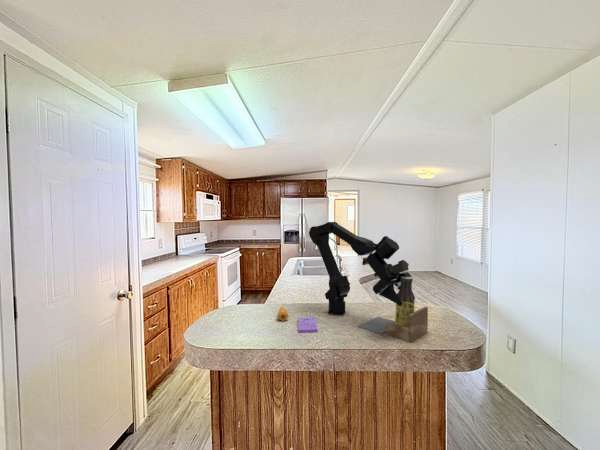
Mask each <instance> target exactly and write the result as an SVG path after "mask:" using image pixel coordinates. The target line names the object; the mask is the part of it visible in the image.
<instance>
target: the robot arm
mask: <svg viewBox="0 0 600 450" xmlns="http://www.w3.org/2000/svg"><path fill="white" fill-rule="evenodd" d="M330 234H332V235H334V236H336V237H338V238H339V239H340V240H342V241H343V242H345V243H347V244H348V245H349V246H350V247H351V250H353V252H354V253H355V254H356V255H358V256H359V257H360V256H366V257H362V262H361V265H362V266H365V265H366V266H367V265H368V266H369V267H370V269H372V271H373V272H374V274H373V276H374V277H375V278H376V277H378V278H379V280H378V281H377V282H376V283H375V284H373V286H372V291H373V293H374V294H375V295H378V296H381V297H383V298H385V299H387V300H389V301H391V302H393V303H395V305H396V304H398V305H400V306H401V305H403V303H402V301H401V300H400V298H399V297H398V295H397V294H398V293H397V292H396V290H395V287H396V288H397V290H398V291H399V290H400V287H401V281H400V277H402V276H407V277H411V278H413V277H412V275H411V273H410V272H407V271H409V270H410V269H409V266H410V264H409V262H407V261H406V260H405V259H402V260H398V262H397V263H396V264H392V263H388V262H387V261H386V260H389V259H390V258H392V256H393V255H395V254H396V253H397V251H398V250H399V249H400V246H399V244H398V243H397V241H395V240H394V239H392V238H390V237H389V236H388V235H385V236H383V237H382V238H381V240H380V241H379V242H378V243H375V242H374V241H373V240H372V239H368V238H366V237H362V236H359V235H356V234H355V233H353V232H351V231H350V230H348V229H347V228H345V227H344V226H342V225H340V224H339V223H338V222H336V221H328V222H326V223H324V224H321V225H317V226H316V225H314V226H311V227H310V228H309V230H308V236H309V239H310V240H311V241H312V243H313V244H314V245H315V246H316V247H317V248H318V250H319V253H320V256H321V259H322V262H323V264H324V266H325V269H326V272H327V274H328V277H329V280H328V290H327V291H326V292H325V293H324V297H325V299H326V300H328V312H327V314H328V315H340V316H344V313H346V300H345V298H347V297H348V294H349V293H350V291H351V283H350V282H349V278H348V276H347V275H343V274H342V273H341V271H340V270H339V267H338V263H337V261H336V259H335V257H334V254H333V251H332V248H331V246H330V244H329V242H330ZM412 293H413V291H412ZM413 294H414V293H413Z"/></svg>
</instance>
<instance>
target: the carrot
mask: <svg viewBox="0 0 600 450" xmlns="http://www.w3.org/2000/svg"><path fill="white" fill-rule="evenodd" d="M288 318H289V312H288V311H287V310H286V308H285V307H284V306H280V308H279V310H278V311H277V319H278V320H279V321H280V320H281V322H285V321H287V320H288Z"/></svg>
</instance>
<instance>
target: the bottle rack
mask: <svg viewBox="0 0 600 450" xmlns="http://www.w3.org/2000/svg"><path fill="white" fill-rule="evenodd" d="M428 312H429V307H428V306H422V307H421V308H420V309H418V310H414V312H413V313H411V314H409V323H408V328H407V327H403V326H399V325H396V324H392V323H389V322H387V323H386V332H385V334H386V335H388V336H391V337H395V338H398V339H401V340H403V341H407V342H408V343H413V342H415V341H416V340H418V339H419V338H420V337H422V336H424V335H425V334H427V333H428V327H429V326H428V323H429V322H428V321H429V319H428V318H429V317H428V315H429V313H428Z"/></svg>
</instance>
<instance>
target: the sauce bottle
mask: <svg viewBox="0 0 600 450" xmlns="http://www.w3.org/2000/svg"><path fill="white" fill-rule="evenodd" d="M400 281H401V287H400V290H399V289H398V292H397V293H396V294H397V295H398V297H399V298H400V300H401V301H402V303H403V305H401V306H400V305H398V304H396V303H395V318H394V321H395V324H396V325H399V326H403V327H407V328H408V323H409V314H411V313H413V312H415V300H416V296H415V294H414V293H412V292H413V290H412V289H413V287H412V285H413V277H407V276H402V277H400Z"/></svg>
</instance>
